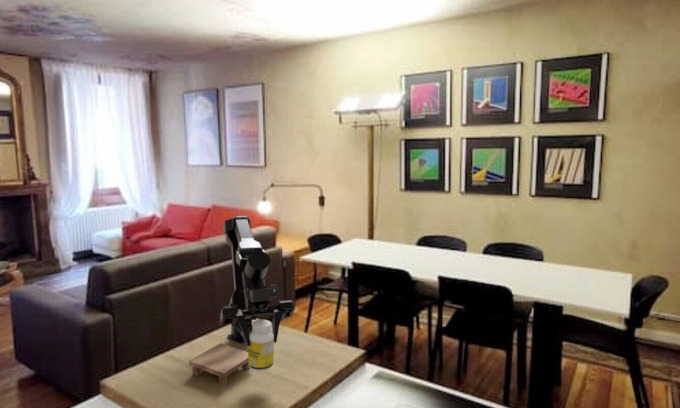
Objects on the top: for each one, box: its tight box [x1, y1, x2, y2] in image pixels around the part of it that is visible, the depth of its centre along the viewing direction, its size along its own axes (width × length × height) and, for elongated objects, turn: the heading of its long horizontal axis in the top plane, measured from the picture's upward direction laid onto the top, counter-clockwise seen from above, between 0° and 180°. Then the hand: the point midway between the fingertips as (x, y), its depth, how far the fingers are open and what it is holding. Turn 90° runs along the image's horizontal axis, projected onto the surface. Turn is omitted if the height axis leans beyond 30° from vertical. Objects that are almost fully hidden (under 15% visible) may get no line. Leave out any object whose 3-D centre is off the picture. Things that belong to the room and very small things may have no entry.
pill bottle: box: [247, 319, 275, 372], centre depth 114 cm, size 6×6×12 cm
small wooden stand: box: [188, 342, 250, 387], centre depth 122 cm, size 12×12×4 cm
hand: (262, 344), depth 113 cm, fingers closed on pill bottle, 6 cm apart
